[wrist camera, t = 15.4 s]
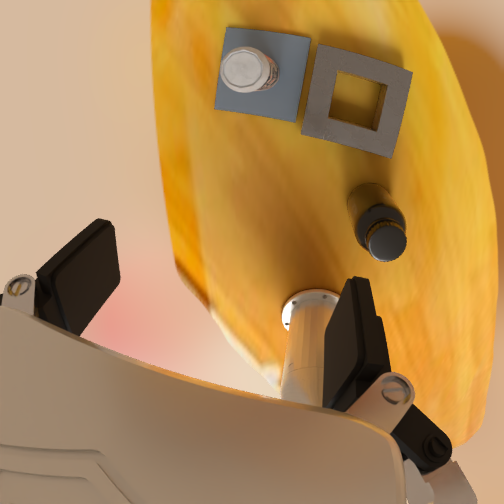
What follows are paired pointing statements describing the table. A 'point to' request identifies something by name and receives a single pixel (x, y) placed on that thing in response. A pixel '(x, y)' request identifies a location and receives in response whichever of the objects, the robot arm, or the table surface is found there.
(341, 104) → the table surface
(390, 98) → the gray square frame
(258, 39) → the mat
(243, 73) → the beer can
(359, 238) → the supplement bottle
